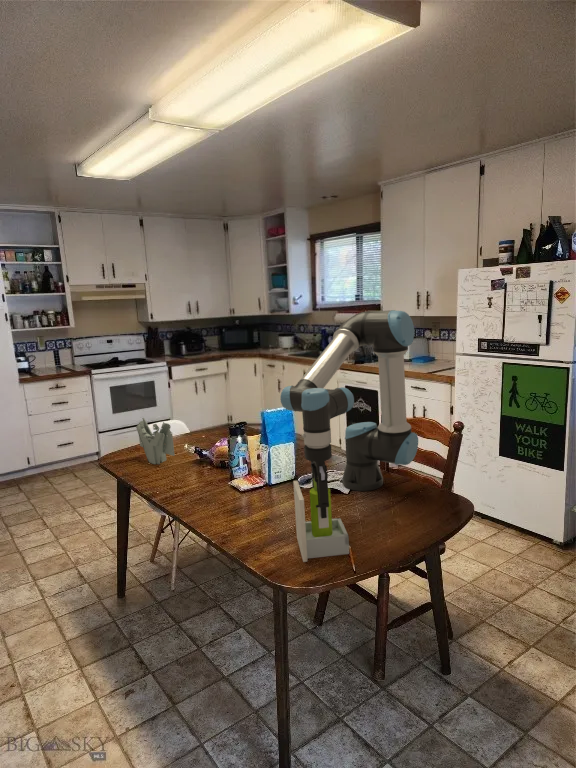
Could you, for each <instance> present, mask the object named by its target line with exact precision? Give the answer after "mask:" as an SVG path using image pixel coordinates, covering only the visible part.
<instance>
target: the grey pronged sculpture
mask: <svg viewBox="0 0 576 768" xmlns="http://www.w3.org/2000/svg"><path fill="white" fill-rule="evenodd" d="M135 428H136V431H137V434H138V439H139V446H140V447H142V448H143V450H144V454H145V456H146V458H147V462H149V463H150V464H152V465H160V464H163V462H166V461H167V455H170V456H173V457H174V456H175V447H174V439H173V432H172V431H171V424H170V423H168V422H165V421H163V422H162V424H161V427H159V425H158V424H157V423H154V424H152V429H153V430H154V431H153V432H152V431H151V428H150V426H149V424H148V422H147V420H146V419H145V418H144V417H142V420H141V421H139V423H138V424H137V425H136V427H135Z"/></svg>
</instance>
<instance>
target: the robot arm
mask: <svg viewBox="0 0 576 768" xmlns="http://www.w3.org/2000/svg"><path fill="white" fill-rule="evenodd" d="M413 322H414V321H413V320H412V317H411V316H410V315H409V313H407V312H406V311H404V310H378V311H377V310H376V311H371V310H370V311H368V310H367V311H362V312H359V313H356V314H354V315H353V316H351V317H349V318H348V319H346V321H344V322H343V323H342V324H340V326H339V327H338V328H337V329H336V330H335V331H334V333H333V336H332V338H333V339H332V340H331V341H330V342H329V344H328V345H327V346H326V347H325V348H324V350H323V351H322V353H320V355H319V356H318V357H317V358H316V360H315V361H314V362H313V363H312V365H311V366H310V367H309V368H308V370H306V372H305V374H304V375H303V376H302V377H301V378H300V379H299V381H298V382H297V383H296V384H295V385H288V386H285V387H284V388H283V389H282V391H281V392H280V404H281V406H282V407H283V409H286V410H287V411H293V412H300V413H301V414H302V415H301V416H302V424H303V425H302V426H303V433H302V434H301V437H302V438H303V443H304V446H303V450H304V459H306V460H307V461H309V462H310V468H311V483H312V487H311V489H312V488H314V482H313V479H314V481H315V482H316V484H317V495H318V505H316V508H317V507H318V522H319V528H328V527H329V522H328V507H329V497H328V488H329V485H328V483H329V482H328V478H329V477H328V476H329V475H328V472H327V471H328V466H327V464H326V463H325V462H326V461H328V460H331V458H332V455H333V453H332V445H331V444H332V430H331V429H332V428H331V419H334V418H337V417H339V416H341V415H345V414H346V413H347V412H349V411H351V410H352V409H353V406H354V404H355V396H354V393H352V392H351V390H349V388H346V387H342V386H341V387H336V388H333V389H330V388H327V389H326V386H327V384H328V383H329V382H330V381H331V379H332V378H333V377H334V375H335V374H336V373H337V371H339V368H340V367H341V366H342V365H343V363H344V362H345V360H347V359H348V357H349V355H350V354H352V353H355V352H356V351H357V350H358V348H359V347H363V346H372V352H373V353H374V354H375V355H376V356H377V358H378V359H377V360H378V378H379V399H380V414H381V415H380V416H381V417H380V418H381V422H380V423H379V424H378V425H377V423H376V422H373V421H364V422H357V423H353V424H350V425H348V426H347V427H346V428H345V430H344V431H345V434H344V436H345V437H344V440H345V441H344V442H345V456H346V457H345V458H346V462H345V463H346V465H345V468H344V471H343V475H342V486H343V487H345V488H346V489H348V490H351V491H359V492H366V491H373V490H377V489H380V488H381V487H383V484H384V477H383V474H382V472H381V469H380V467H379V463H378V462H384V463H389V464H394V465H396V466H398V465H401V466H408V465H410V464H411V462H413V460H415V457H416V455H417V452H418V448H419V436H418V434H417V433H415V432H412V425H411V424H410V423H409V422H407V401H406V400H407V399H406V398H407V397H406V380H405V357H404V356H405V354H406V353H407V352H408V351H409V346H411V345H412V344H413V342H414V340H415V339H414V337H415V326H414V323H413ZM317 478H318V479H317Z"/></svg>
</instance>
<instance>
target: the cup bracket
mask: <svg viewBox="0 0 576 768" xmlns="http://www.w3.org/2000/svg"><path fill="white" fill-rule="evenodd" d="M292 484H293V495H294V496H293V497H294V511H295V527H296V528H295V529H296V530H295V531H296V539H297V543H298V548H299V551H300V555H301V558H302V562H303V563H306V562H308V559H314V558H315V559H316V558H324V557H333V556H343V555H349V554H350V541H349V539H350V538H349V534H348V531H347V530H346V528H345V525H344V523H343V521H342V519H341V518H340V517H337V518H332V535H331V536H324V537H314V536H313V535H312V525H311V520H309V521H306V515H305V514H306V513H305V510H306V509H305V498H304V496H303V494H302V490H301V487H300V484H299V482H298V480H293V483H292Z"/></svg>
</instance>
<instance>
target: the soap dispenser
mask: <svg viewBox="0 0 576 768" xmlns="http://www.w3.org/2000/svg"><path fill="white" fill-rule="evenodd" d="M317 479H318V478H317ZM313 482H314V488H312V487H311V489H309V504H310V521H311V525H312V535H313V536H314V537H324V536H331V535H332V519H333V517H332V515H333V514H332V497H331V495H332V493H331V488H330V487H328V497H329V507H328V522H329V527H328V528H319V522H318V507H317V508H316V505H318V495H317V484H316V482H315V481H314V479H313Z"/></svg>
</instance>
